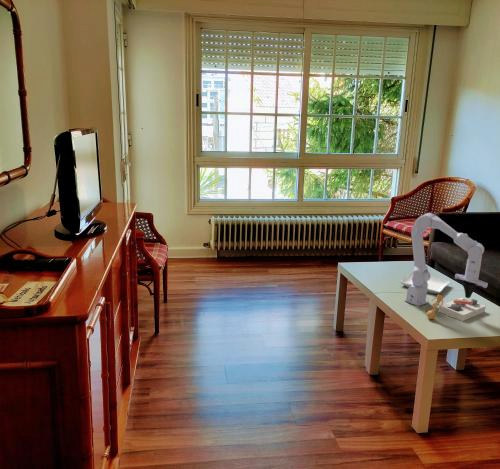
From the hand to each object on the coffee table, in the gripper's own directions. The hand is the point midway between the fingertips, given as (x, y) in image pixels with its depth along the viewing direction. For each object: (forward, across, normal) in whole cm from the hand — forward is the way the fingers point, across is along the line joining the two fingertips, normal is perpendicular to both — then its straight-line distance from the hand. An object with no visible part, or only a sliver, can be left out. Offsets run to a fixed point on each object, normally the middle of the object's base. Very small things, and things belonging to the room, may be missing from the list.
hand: (467, 297), depth 210 cm
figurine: (+9, +5, +18) cm, 21 cm away
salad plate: (+9, +32, -16) cm, 37 cm away
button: (+8, +2, +4) cm, 9 cm away
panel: (+8, +2, -2) cm, 9 cm away
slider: (+5, +1, -8) cm, 9 cm away
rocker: (+3, +2, -2) cm, 5 cm away
